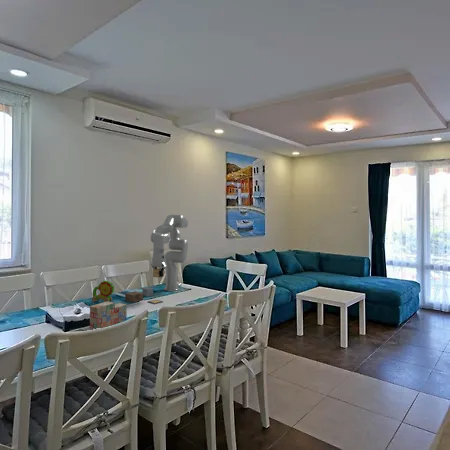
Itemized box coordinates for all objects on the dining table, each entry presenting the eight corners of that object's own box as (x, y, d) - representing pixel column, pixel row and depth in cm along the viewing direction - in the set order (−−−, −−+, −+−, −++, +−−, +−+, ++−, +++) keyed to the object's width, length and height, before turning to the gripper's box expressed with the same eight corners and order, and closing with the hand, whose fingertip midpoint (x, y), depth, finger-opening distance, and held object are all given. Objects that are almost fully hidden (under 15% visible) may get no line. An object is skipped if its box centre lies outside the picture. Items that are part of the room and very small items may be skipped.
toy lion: (91, 301, 252) (91, 280, 251) (95, 300, 257) (96, 279, 256) (110, 304, 247) (111, 282, 247) (115, 302, 253) (115, 280, 252)
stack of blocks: (119, 318, 216) (119, 297, 216) (126, 320, 213) (126, 299, 212) (89, 327, 198) (89, 305, 197) (97, 330, 194) (97, 307, 194)
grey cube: (148, 294, 278) (148, 287, 278) (152, 295, 275) (152, 288, 275) (142, 295, 274) (142, 288, 274) (147, 296, 271) (147, 289, 270)
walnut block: (135, 298, 265) (135, 291, 265) (143, 300, 260) (143, 293, 259) (125, 300, 258) (125, 293, 258) (132, 302, 253) (132, 295, 253)
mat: (156, 300, 261) (156, 299, 261) (163, 302, 255) (163, 301, 255) (147, 302, 254) (147, 301, 254) (154, 304, 249) (154, 303, 249)
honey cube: (158, 275, 266) (158, 268, 266) (163, 276, 262) (163, 269, 262) (152, 276, 262) (152, 269, 261) (157, 277, 258) (157, 270, 258)
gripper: (170, 251, 259) (170, 276, 260) (154, 249, 270) (154, 273, 270) (162, 252, 253) (162, 278, 254) (146, 250, 264) (146, 275, 264)
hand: (158, 275), depth 262 cm, fingers closed on honey cube, 5 cm apart
